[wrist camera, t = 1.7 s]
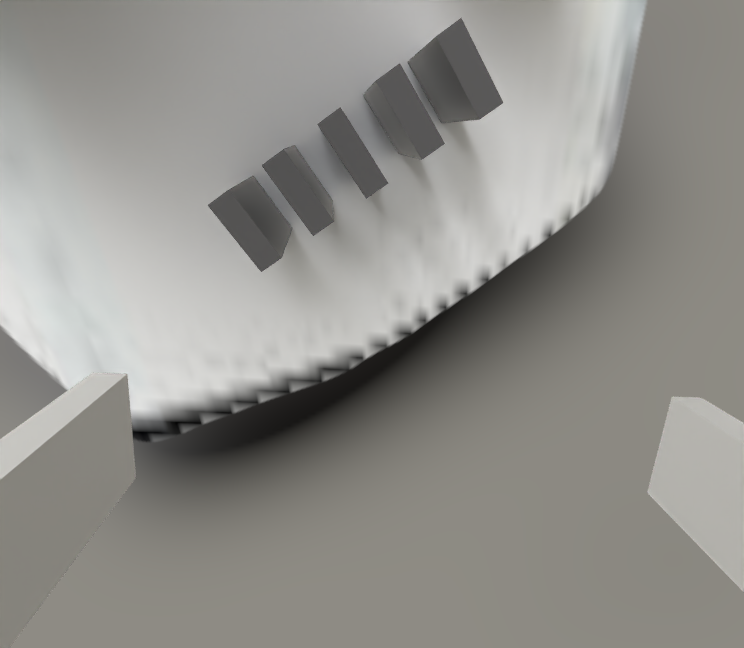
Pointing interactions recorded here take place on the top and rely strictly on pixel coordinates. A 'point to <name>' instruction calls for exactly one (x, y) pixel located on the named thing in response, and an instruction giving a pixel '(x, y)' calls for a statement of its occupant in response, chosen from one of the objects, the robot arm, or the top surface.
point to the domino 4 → (403, 115)
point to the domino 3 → (352, 152)
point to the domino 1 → (253, 222)
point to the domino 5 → (455, 76)
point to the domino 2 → (301, 189)
